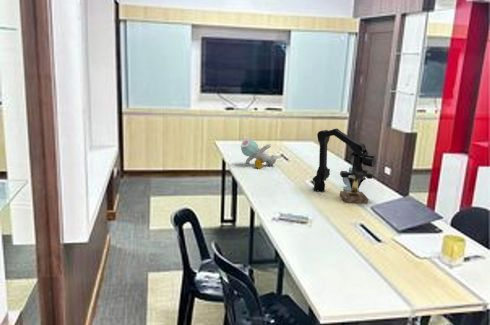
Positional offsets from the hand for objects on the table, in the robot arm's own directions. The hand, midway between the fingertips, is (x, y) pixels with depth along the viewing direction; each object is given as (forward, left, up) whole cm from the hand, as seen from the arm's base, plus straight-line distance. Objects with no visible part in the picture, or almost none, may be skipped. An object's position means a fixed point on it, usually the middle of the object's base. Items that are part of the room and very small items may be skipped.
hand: (354, 188), depth 278 cm
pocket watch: (+3, +18, -8) cm, 20 cm away
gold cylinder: (0, 0, -3) cm, 3 cm away
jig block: (0, 0, -7) cm, 7 cm away
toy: (-56, +70, -8) cm, 90 cm away
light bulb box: (+11, +41, -8) cm, 43 cm away
